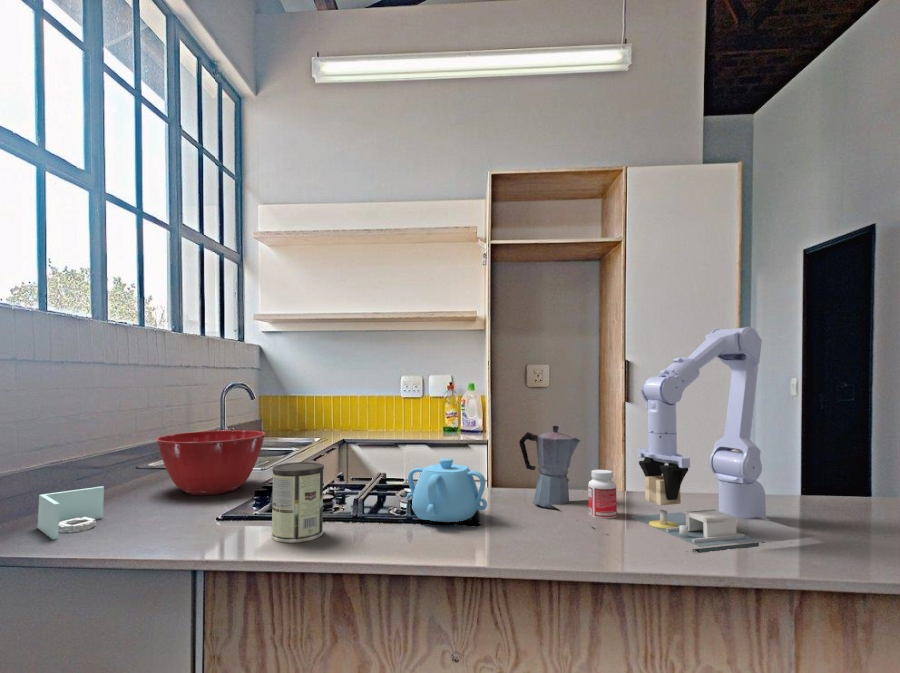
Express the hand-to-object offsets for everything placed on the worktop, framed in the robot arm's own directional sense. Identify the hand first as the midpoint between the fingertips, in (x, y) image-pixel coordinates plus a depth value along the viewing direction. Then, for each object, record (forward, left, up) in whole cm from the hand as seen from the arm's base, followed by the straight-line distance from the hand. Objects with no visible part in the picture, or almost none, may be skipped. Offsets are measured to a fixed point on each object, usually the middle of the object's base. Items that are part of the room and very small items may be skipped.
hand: (663, 496), depth 119 cm
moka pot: (+13, -27, -7) cm, 31 cm away
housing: (-5, +8, -6) cm, 11 cm away
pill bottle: (+8, -11, -7) cm, 15 cm away
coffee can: (+75, -18, -7) cm, 78 cm away
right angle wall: (+120, -37, -8) cm, 125 cm away
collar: (0, 0, -1) cm, 1 cm away
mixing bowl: (+97, -69, -7) cm, 119 cm away
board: (-4, +3, -7) cm, 9 cm away
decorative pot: (+42, -22, -7) cm, 48 cm away
